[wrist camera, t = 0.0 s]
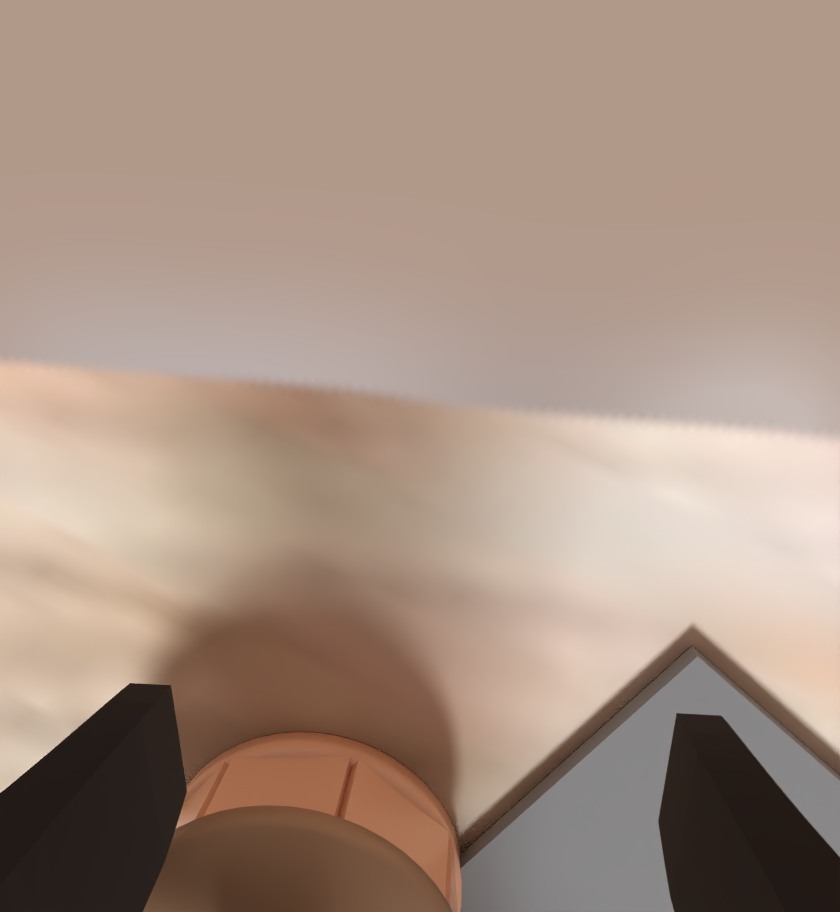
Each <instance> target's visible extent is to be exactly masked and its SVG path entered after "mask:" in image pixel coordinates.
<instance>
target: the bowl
mask: <svg viewBox="0 0 840 912" xmlns="http://www.w3.org/2000/svg"><path fill="white" fill-rule="evenodd" d="M186 788H187V793H186V796H185V799H184V803H183V806H182V809H181V813H180V816H179V819H178V823H177V826H176V829H177V828H178V827H180V826H182V825H185V824H187V823H189V822H191V821H193V820H195V819H197V818H200V817H203V816H206V815H209V814H212V813H215V812H218V811H223V810H228V809H234V808H239V807H247V806H262V805H272V806H292V807H298V808H304V809H310V810H316V811H319V812H323V813H327V814H330V815H334V816H337V817H340V818H343V819H345V820H348V821H350V822H353V823H355V824H358V825H360V826H363V827H365V828H366V829H368V830H370V831H372V832H374V833H376V834H377V835H379V836H381V837H383V838H385V839H386V840H388V841H389V842H390V843H392V844H393V845H395V846H396V847H398V848H399V849H400V850H402V851H403V852H405V853H406V854H407V855H408V856H409V857H410V858H411V859H412V860H413V861H415V862H416V863H417V864H418V865H419V866H420V867H421V868H422V869H423V870H424V871H425V872H426V873H427V875H428V876H429V877H430V878H431V879H432V880H433V882H434V883H435V884H436V885H437V887H438V888H439V890H440V891H441V893H442V894H443V896H444V897H445V899H446V900H447V902H448V903H449V905H450V907H451V909H452V911H453V912H460V910H461V892H462V877H461V870H460V864H461V852H460V846H459V842H458V839H457V836H456V832H455V829H454V827H453V825H452V823H451V821H450V819H449V816H448V814H447V813H446V811H445V809H444V808H443V806H442V805H441V803H440V802H439V800H438V799H437V797H436V796H435V795H434V794H433V793H432V791H431V790H430V789H429V788H428V787H427V785H426V784H425V783H424V782H423V781H422V780H420V779H419V778H418V777H417V776H416V775H415V774H414V773H413V772H412V771H411V770H409V769H408V768H406V767H405V766H404V765H402V764H401V763H399V762H398V761H397V760H395V759H394V758H392V757H390V756H388V755H386V754H385V753H383V752H381V751H379V750H377V749H375V748H373V747H370V746H368V745H365V744H363V743H360V742H358V741H354V740H351V739H347V738H343V737H340V736H335V735H328V734H322V733H310V732H291V733H278V734H273V735H268V736H263V737H259V738H256V739H253V740H250V741H247V742H244V743H241V744H239V745H237V746H235V747H233V748H231V749H229V750H227V751H225V752H223V753H222V754H220V755H219V756H217V757H216V758H214V759H213V760H211V761H210V762H209V763H208V764H207V765H206V766H204V767H203V768H202V769H201V770H200V771H199V772H198V773H197V774H196V775H195V776H194V778H193V779H192V780H191V781H190V783H189V784H188V785H187V786H186Z"/></svg>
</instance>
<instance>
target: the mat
mask: <svg viewBox="0 0 840 912" xmlns="http://www.w3.org/2000/svg"><path fill="white" fill-rule="evenodd" d="M676 713H683V714H702V715H720V716H722V717H723V718H724V719H725V720H726V721H727V722H728V723H729V725H730V726H731V727H732V728H733V730H734V731H735V732H736V733H737V735H738V736H739V737H740V738H741V740H742V741H743V742H744V743H745V745H746V746H747V747H748V748H749V750H750V751H751V752H752V753H753V755H754V756H755V757H756V758H757V760H758V761H759V762H760V763H761V765H762V766H763V767H764V768H765V770H766V771H767V772H768V773H769V775H770V776H771V777H772V778H773V779H774V781H775V782H776V783H777V784H778V785H779V787H780V788H781V789H782V790H783V792H784V793H785V794H786V795H787V796H788V798H789V799H790V800H791V801H792V802H793V804H794V805H795V806H796V807H797V808H798V810H799V811H800V812H801V813H802V814H803V815H804V817H805V818H806V819H807V820H808V821H809V822H810V823H811V825H812V826H813V827H814V828H815V829H816V830H817V831H818V833H819V834H820V835H821V836H822V837H823V838H824V839H825V841H826V842H827V843H828V844H829V845H830V846H831V847H832V849H833V850H834V851H835V852H836V853H837V854H838V855H839V857H840V775H839V774H838V773H836V772H835V771H834V770H833V769H832V768H831V767H830V766H828V765H827V764H826V763H825V762H824V761H823V760H822V759H821V758H819V757H818V756H817V755H816V754H815V753H814V752H813V751H811V750H810V749H809V748H808V747H807V746H806V745H805V744H803V743H802V742H801V741H800V740H799V739H798V738H797V737H795V736H794V735H793V734H792V733H791V732H790V731H789V730H787V729H786V728H785V727H784V726H783V725H782V724H781V723H779V722H778V721H777V720H776V719H775V718H774V717H773V716H771V715H770V714H769V713H768V712H767V711H766V710H765V709H763V708H762V707H761V706H760V705H759V704H758V703H757V702H755V701H754V700H753V699H752V698H751V697H750V696H749V695H748V694H746V693H745V692H744V691H743V690H742V689H741V688H740V687H738V686H737V685H736V684H735V683H734V682H733V681H732V680H730V679H729V678H728V677H727V676H726V675H725V674H724V673H722V672H721V671H720V670H719V669H718V668H717V667H716V666H714V665H713V664H712V663H711V662H710V661H709V660H708V659H706V658H705V657H704V656H703V655H702V654H701V653H700V652H698V651H697V650H696V649H695V648H694V647H693V646H691V647H690V648H689V649H688V650H687V651H686V652H684V653H683V654H682V655H681V656H680V657H679V658H678V659H677V660H676V661H675V662H673V663H672V664H671V665H670V666H669V667H668V668H667V669H666V670H665V671H663V672H662V673H661V674H660V675H659V676H658V677H657V678H656V679H655V680H653V681H652V682H651V683H650V684H649V685H648V686H647V687H646V688H645V689H643V690H642V691H641V692H640V693H639V694H638V695H637V696H636V697H635V698H633V699H632V700H631V701H630V702H629V703H628V704H627V705H626V706H625V707H623V708H622V709H621V710H620V711H619V712H618V713H617V714H616V715H615V716H613V717H612V718H611V719H610V720H609V721H608V722H607V723H606V724H605V725H604V726H602V727H601V728H600V729H599V730H598V731H597V732H596V733H595V734H594V735H592V736H591V737H590V738H589V739H588V740H587V741H586V742H585V743H584V744H582V745H581V746H580V747H579V748H578V749H577V750H576V751H575V752H574V753H572V754H571V755H570V756H569V757H568V758H567V759H566V760H565V761H564V762H562V763H561V764H560V765H559V766H558V767H557V768H556V769H555V770H554V771H552V772H551V773H550V774H549V775H548V776H547V777H546V778H545V779H544V780H542V781H541V782H540V783H539V784H538V785H537V786H536V787H535V788H534V789H532V790H531V791H530V792H529V793H528V794H527V795H526V796H525V797H524V798H523V799H521V800H520V801H519V802H518V803H517V804H516V805H515V806H514V807H513V808H511V809H510V810H509V811H508V812H507V813H506V814H505V815H504V816H503V817H501V818H500V819H499V820H498V821H497V822H496V823H495V824H494V825H493V826H491V827H490V828H489V829H488V830H487V831H486V832H485V833H484V834H483V835H481V836H480V837H479V838H478V839H477V840H476V841H475V842H474V843H473V844H471V845H470V846H469V847H468V848H467V849H466V850H465V851H464V852H463V853H461V864H460V870H461V877H462V892H461V910H460V912H674V909H673V905H672V902H671V898H670V893H669V887H668V881H667V875H666V869H665V863H664V856H663V850H662V843H661V837H660V830H659V823H658V819H659V813H660V807H661V802H662V796H663V790H664V784H665V778H666V772H667V766H668V760H669V754H670V749H671V743H672V737H673V731H674V725H675V719H676Z"/></svg>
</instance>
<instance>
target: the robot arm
mask: <svg viewBox="0 0 840 912" xmlns="http://www.w3.org/2000/svg"><path fill="white" fill-rule="evenodd" d="M186 793H187V788H186V782H185V775H184V769H183V762H182V756H181V749H180V742H179V736H178V729H177V723H176V716H175V710H174V703H173V697H172V690H171V686H170V685H152V684H134V683H130V684H129V685H128V686H126V687H125V688H124V689H123V690H121V691H120V692H119V693H118V694H117V695H116V696H114V697H113V698H112V699H111V700H110V701H109V702H107V703H106V704H105V705H104V706H103V707H102V708H100V709H99V710H98V711H97V712H96V713H95V714H93V715H92V716H91V717H90V718H89V719H88V720H87V721H85V722H84V723H83V724H82V725H81V726H80V727H78V728H77V729H76V730H75V731H74V732H73V733H71V734H70V735H69V736H68V737H67V738H66V739H65V740H63V741H62V742H61V743H60V744H59V745H58V746H56V747H55V748H54V749H53V750H52V751H51V752H49V753H48V754H47V755H46V756H45V757H43V758H42V759H41V760H40V761H39V762H37V763H36V764H35V765H34V766H33V767H31V768H30V769H29V770H28V771H27V772H25V773H24V774H23V775H22V776H21V777H19V778H18V779H17V780H16V781H15V782H14V783H12V784H11V785H10V786H9V787H8V788H6V789H5V790H4V791H2V792H1V793H0V912H143V910H144V908H145V906H146V903H147V901H148V899H149V897H150V894H151V892H152V890H153V888H154V885H155V883H156V881H157V879H158V876H159V874H160V872H161V869H162V867H163V865H164V862H165V860H166V857H167V854H168V850H169V847H170V844H171V841H172V838H173V835H174V832H175V829H176V826H177V823H178V819H179V816H180V813H181V809H182V806H183V803H184V799H185V796H186ZM658 823H659V830H660V837H661V843H662V850H663V856H664V863H665V869H666V875H667V881H668V887H669V893H670V898H671V902H672V905H673V909H674V912H840V857H839V855H838V854H837V853H836V852H835V851H834V850H833V849H832V847H831V846H830V845H829V844H828V843H827V842H826V841H825V839H824V838H823V837H822V836H821V835H820V834H819V833H818V831H817V830H816V829H815V828H814V827H813V826H812V825H811V823H810V822H809V821H808V820H807V819H806V818H805V817H804V815H803V814H802V813H801V812H800V811H799V810H798V808H797V807H796V806H795V805H794V804H793V802H792V801H791V800H790V799H789V798H788V796H787V795H786V794H785V793H784V792H783V790H782V789H781V788H780V787H779V785H778V784H777V783H776V782H775V781H774V779H773V778H772V777H771V776H770V775H769V773H768V772H767V771H766V770H765V768H764V767H763V766H762V765H761V763H760V762H759V761H758V760H757V758H756V757H755V756H754V755H753V753H752V752H751V751H750V750H749V748H748V747H747V746H746V745H745V743H744V742H743V741H742V740H741V738H740V737H739V736H738V735H737V733H736V732H735V731H734V730H733V728H732V727H731V726H730V725H729V723H728V722H727V721H726V720H725V719H724V718H723V717H722V716H720V715H702V714H683V713H676V719H675V725H674V731H673V737H672V743H671V749H670V754H669V760H668V766H667V772H666V778H665V784H664V790H663V796H662V802H661V807H660V813H659V819H658Z"/></svg>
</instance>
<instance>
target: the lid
mask: <svg viewBox="0 0 840 912" xmlns="http://www.w3.org/2000/svg"><path fill="white" fill-rule="evenodd" d="M143 912H453V911H452V909H451V907H450V905H449V903H448V902H447V900H446V899H445V897H444V896H443V894H442V893H441V891H440V890H439V888H438V887H437V885H436V884H435V883H434V882H433V880H432V879H431V878H430V877H429V876H428V875H427V873H426V872H425V871H424V870H423V869H422V868H421V867H420V866H419V865H418V864H417V863H416V862H415V861H413V860H412V859H411V858H410V857H409V856H408V855H407V854H406V853H405V852H403V851H402V850H400V849H399V848H398V847H396V846H395V845H393V844H392V843H390V842H389V841H388V840H386V839H385V838H383V837H381V836H379V835H377V834H376V833H374V832H372V831H370V830H368V829H366V828H365V827H363V826H360V825H358V824H355V823H353V822H350V821H348V820H345V819H343V818H340V817H337V816H334V815H330V814H327V813H323V812H319V811H316V810H310V809H304V808H298V807H292V806H272V805H262V806H247V807H239V808H234V809H228V810H223V811H218V812H215V813H212V814H209V815H206V816H203V817H200V818H197V819H195V820H193V821H191V822H189V823H187V824H185V825H182V826H180V827H178V828H177V829H175V832H174V835H173V838H172V841H171V844H170V847H169V850H168V854H167V857H166V860H165V862H164V865H163V867H162V869H161V872H160V874H159V876H158V879H157V881H156V883H155V885H154V888H153V890H152V892H151V894H150V897H149V899H148V901H147V903H146V906H145V908H144V910H143Z"/></svg>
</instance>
